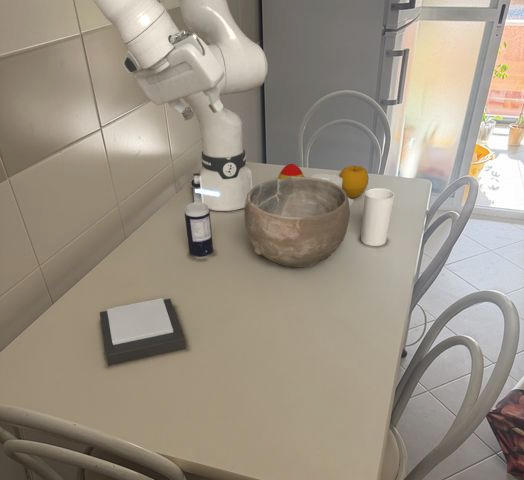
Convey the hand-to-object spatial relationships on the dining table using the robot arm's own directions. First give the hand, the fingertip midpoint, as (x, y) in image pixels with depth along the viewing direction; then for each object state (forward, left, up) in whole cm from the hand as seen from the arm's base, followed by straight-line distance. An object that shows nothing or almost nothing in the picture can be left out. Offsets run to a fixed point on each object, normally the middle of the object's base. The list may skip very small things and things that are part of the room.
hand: (204, 114), depth 93 cm
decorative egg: (-30, +30, -33) cm, 54 cm away
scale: (+20, -20, -33) cm, 43 cm away
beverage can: (-7, -2, -33) cm, 34 cm away
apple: (-25, +47, -33) cm, 63 cm away
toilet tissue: (-18, +36, -33) cm, 52 cm away
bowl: (+1, +19, -33) cm, 38 cm away
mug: (0, +41, -33) cm, 53 cm away
